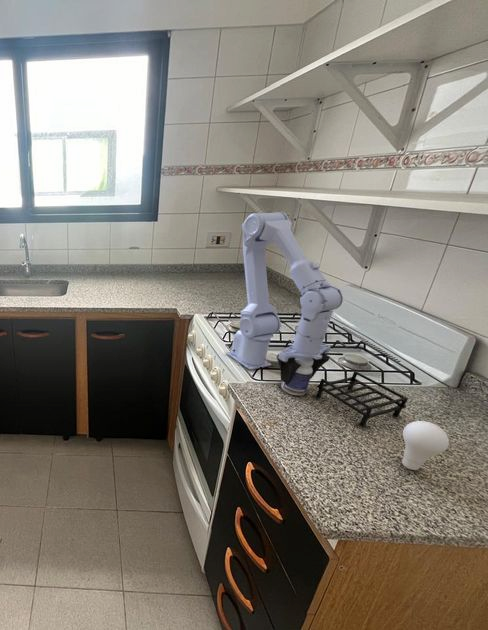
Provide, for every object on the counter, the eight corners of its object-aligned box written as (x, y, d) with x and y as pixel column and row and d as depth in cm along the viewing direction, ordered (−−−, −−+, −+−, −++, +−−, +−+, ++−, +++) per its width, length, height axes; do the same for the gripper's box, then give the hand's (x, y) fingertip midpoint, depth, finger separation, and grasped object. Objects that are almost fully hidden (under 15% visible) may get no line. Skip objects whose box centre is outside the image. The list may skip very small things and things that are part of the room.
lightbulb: (388, 451, 73) (408, 410, 68) (427, 466, 69) (452, 423, 65) (388, 469, 69) (411, 426, 64) (431, 486, 65) (457, 442, 61)
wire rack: (313, 395, 90) (319, 378, 88) (348, 387, 93) (354, 370, 91) (363, 428, 79) (372, 409, 77) (400, 417, 82) (410, 398, 80)
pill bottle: (310, 396, 90) (321, 364, 86) (288, 396, 90) (298, 364, 86) (297, 383, 95) (307, 352, 91) (276, 383, 95) (285, 352, 91)
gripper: (302, 345, 80) (287, 393, 86) (348, 336, 84) (331, 382, 90) (277, 332, 86) (264, 377, 92) (321, 324, 90) (306, 368, 96)
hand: (296, 379), depth 91 cm, fingers open, 7 cm apart
